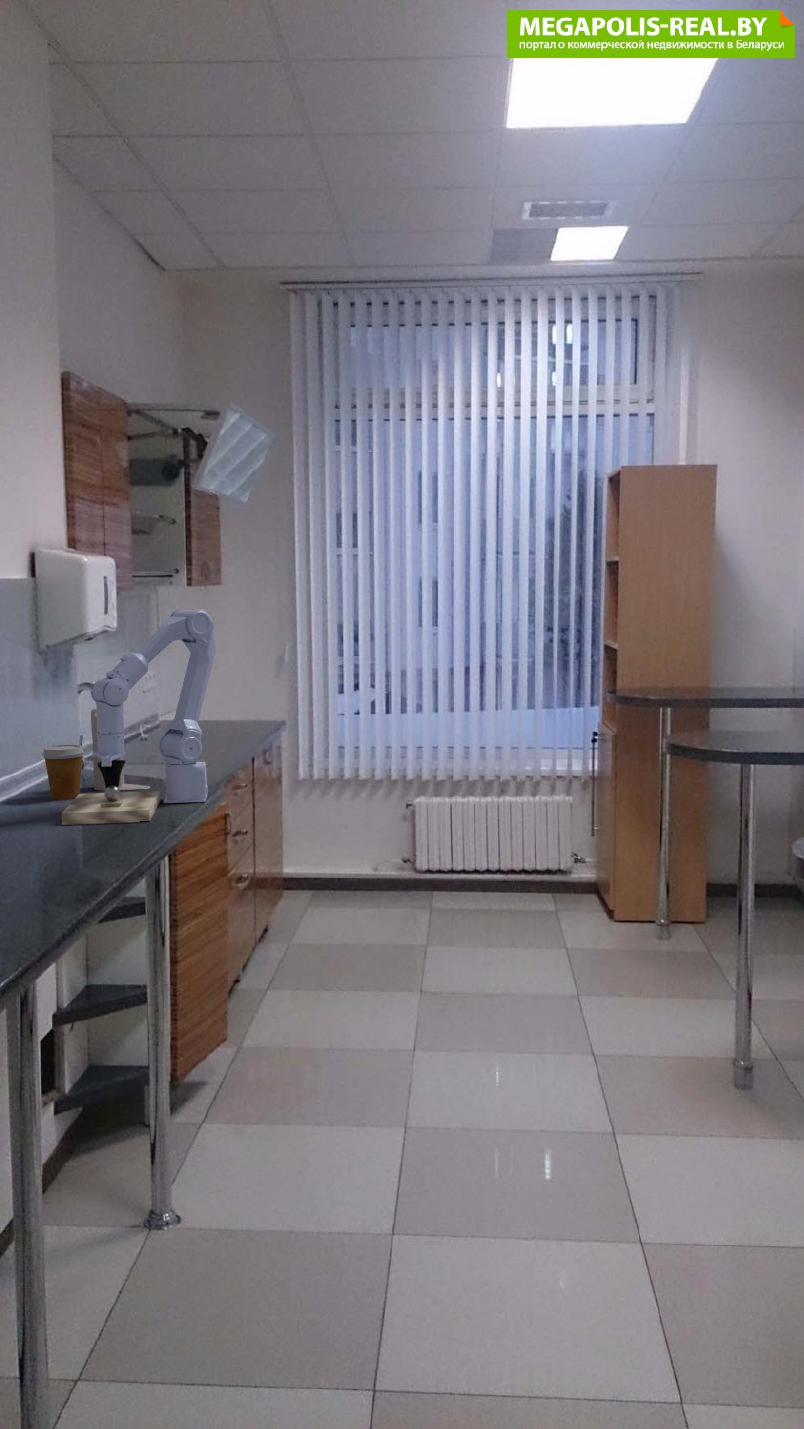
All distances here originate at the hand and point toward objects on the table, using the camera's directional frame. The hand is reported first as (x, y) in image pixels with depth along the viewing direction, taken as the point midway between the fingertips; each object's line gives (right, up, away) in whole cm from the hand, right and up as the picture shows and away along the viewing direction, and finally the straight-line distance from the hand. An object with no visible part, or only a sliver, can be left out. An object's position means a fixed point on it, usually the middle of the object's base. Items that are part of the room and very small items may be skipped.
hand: (112, 793), depth 252 cm
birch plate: (+1, -4, -2) cm, 4 cm away
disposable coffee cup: (-15, -2, +17) cm, 23 cm away
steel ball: (0, 0, -1) cm, 1 cm away
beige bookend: (-5, -1, +29) cm, 29 cm away
